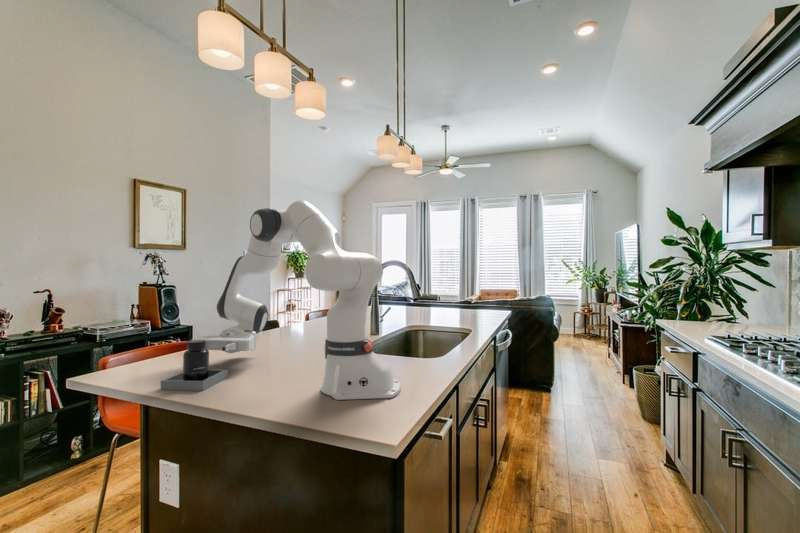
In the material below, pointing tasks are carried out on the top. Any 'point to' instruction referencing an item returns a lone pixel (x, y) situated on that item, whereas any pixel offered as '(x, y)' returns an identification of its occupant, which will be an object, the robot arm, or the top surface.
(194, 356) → the supplement bottle
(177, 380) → the tray
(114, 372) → the top surface
